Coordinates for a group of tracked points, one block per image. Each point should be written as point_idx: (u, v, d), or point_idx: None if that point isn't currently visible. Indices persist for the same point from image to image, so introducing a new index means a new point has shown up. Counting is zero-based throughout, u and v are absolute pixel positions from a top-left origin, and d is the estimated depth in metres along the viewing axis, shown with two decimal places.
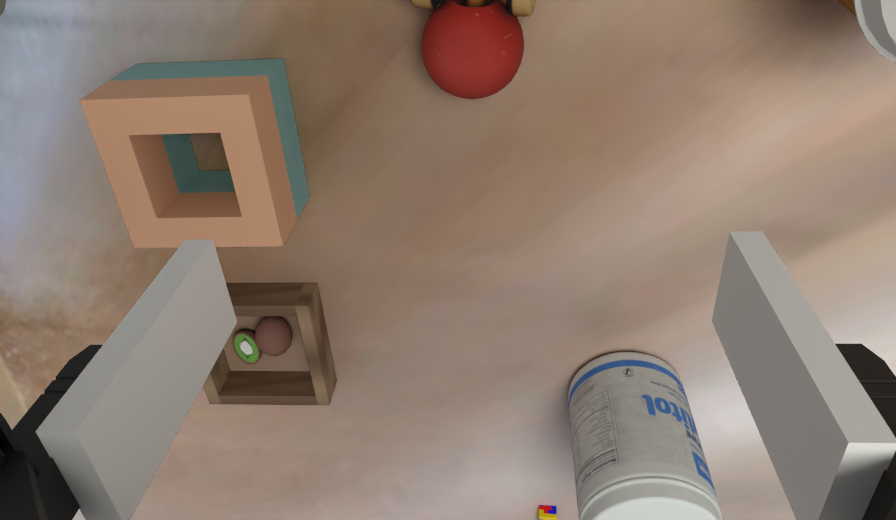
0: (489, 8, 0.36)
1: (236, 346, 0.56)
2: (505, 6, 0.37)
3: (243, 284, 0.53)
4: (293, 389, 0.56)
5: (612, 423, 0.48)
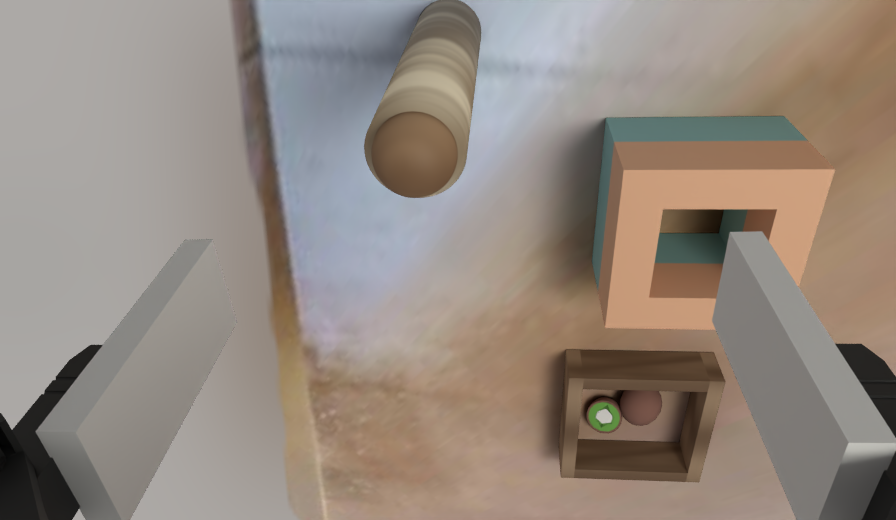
0: None
1: (591, 414, 0.51)
2: None
3: (628, 351, 0.48)
4: (657, 463, 0.51)
5: None
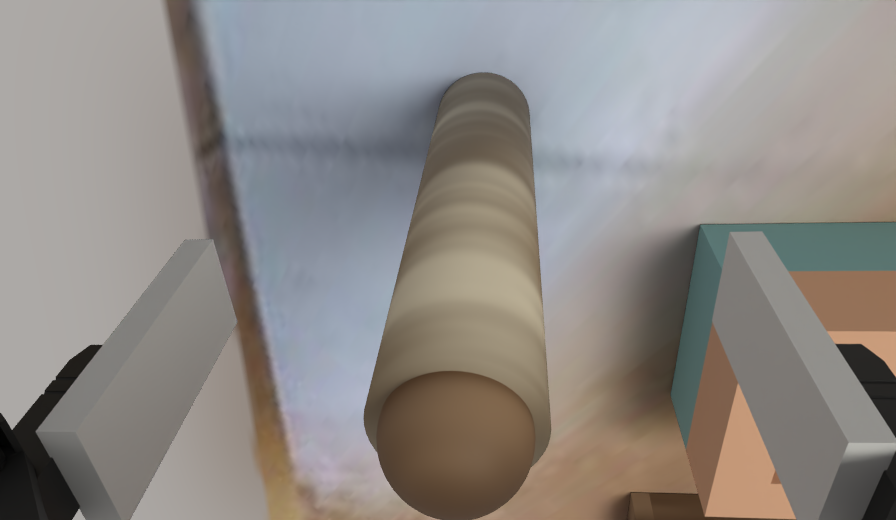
0: None
1: None
2: None
3: None
4: None
5: None
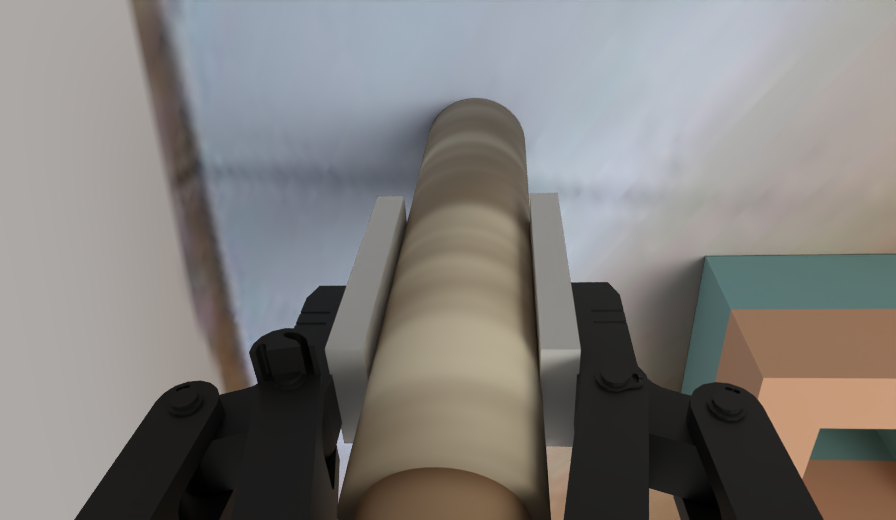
0: None
1: None
2: None
3: None
4: None
5: None
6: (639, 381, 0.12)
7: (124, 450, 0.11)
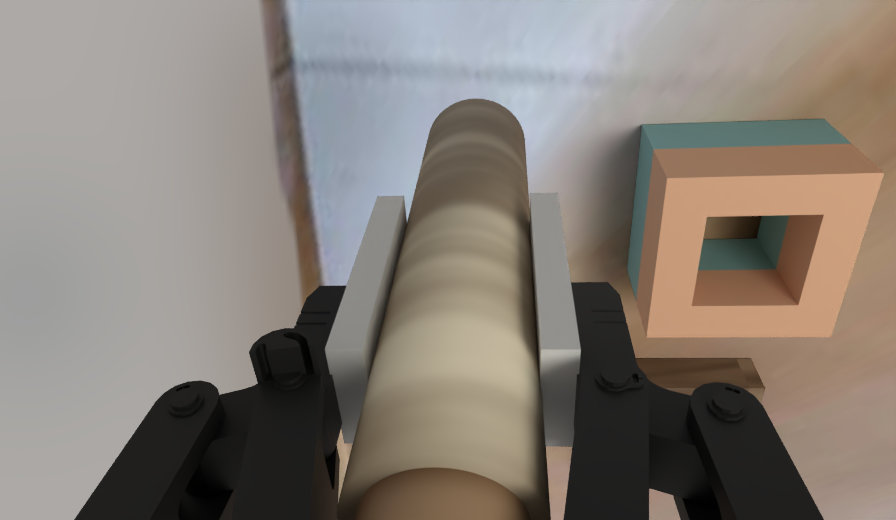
0: None
1: None
2: None
3: (663, 359, 0.47)
4: None
5: None
6: (640, 381, 0.12)
7: (124, 450, 0.11)
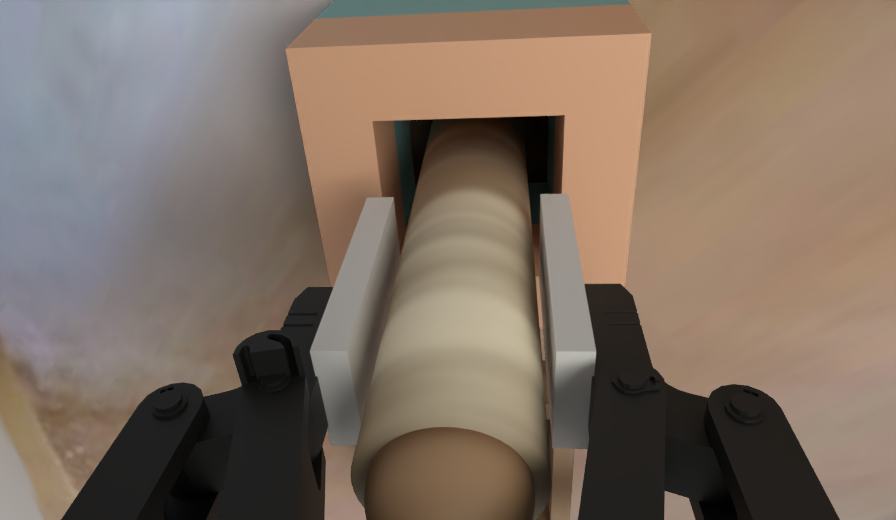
0: None
1: None
2: None
3: None
4: None
5: None
6: (657, 384, 0.12)
7: (108, 453, 0.11)
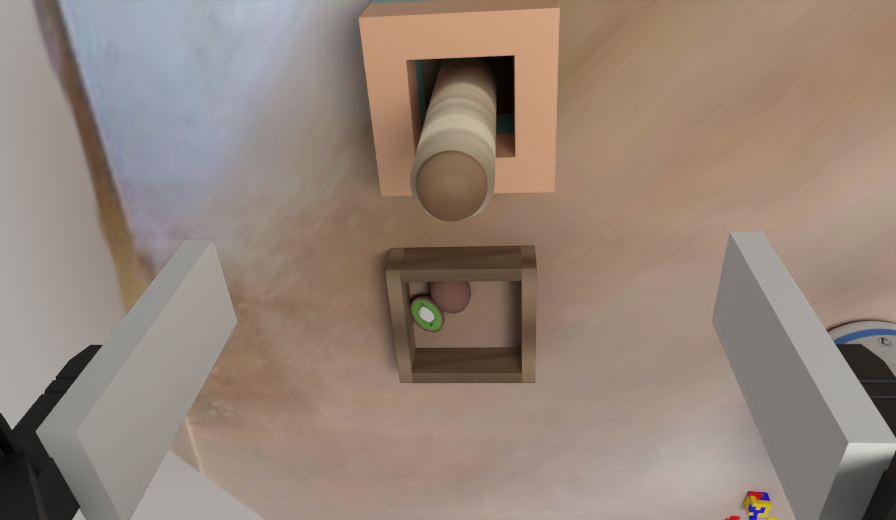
0: None
1: (416, 316, 0.51)
2: None
3: (451, 247, 0.48)
4: (494, 366, 0.51)
5: None
6: None
7: None
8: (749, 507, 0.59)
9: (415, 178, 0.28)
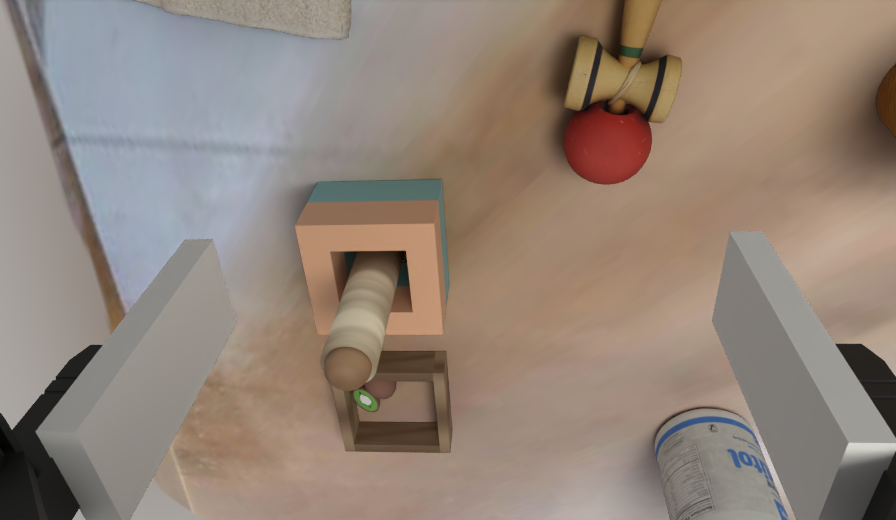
0: (631, 116, 0.44)
1: (358, 401, 0.65)
2: (642, 114, 0.44)
3: (381, 351, 0.62)
4: (418, 439, 0.65)
5: (704, 474, 0.57)
6: None
7: None
8: None
9: (324, 361, 0.42)
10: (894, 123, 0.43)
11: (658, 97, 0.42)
